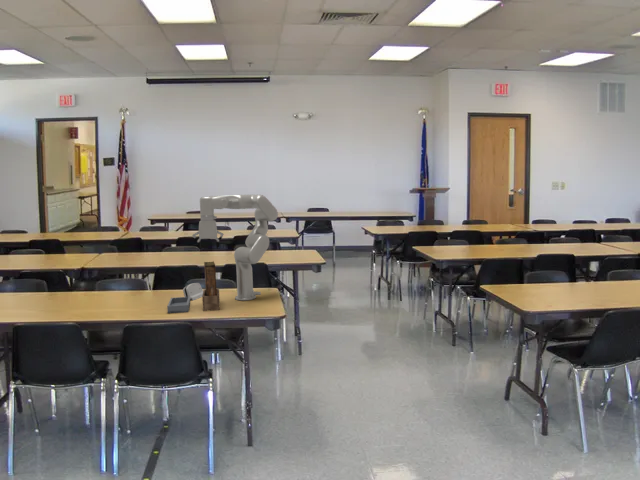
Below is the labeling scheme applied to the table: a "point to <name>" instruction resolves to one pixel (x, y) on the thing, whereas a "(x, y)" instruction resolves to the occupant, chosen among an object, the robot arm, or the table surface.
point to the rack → (210, 301)
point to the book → (210, 278)
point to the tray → (178, 305)
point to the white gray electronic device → (193, 291)
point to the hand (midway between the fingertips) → (208, 248)
